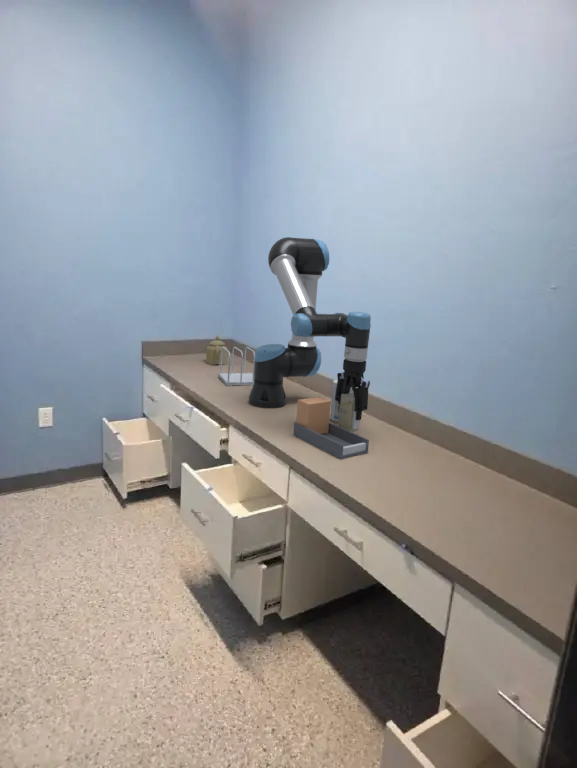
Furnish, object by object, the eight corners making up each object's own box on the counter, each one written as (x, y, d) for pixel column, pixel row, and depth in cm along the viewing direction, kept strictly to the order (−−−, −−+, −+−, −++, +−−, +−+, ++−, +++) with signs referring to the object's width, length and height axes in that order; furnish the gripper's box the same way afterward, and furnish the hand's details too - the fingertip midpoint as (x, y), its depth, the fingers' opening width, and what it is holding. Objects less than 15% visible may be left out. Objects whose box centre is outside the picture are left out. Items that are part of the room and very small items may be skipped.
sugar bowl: (234, 365, 277) (235, 337, 274) (215, 367, 271) (216, 338, 267) (221, 360, 289) (221, 333, 285) (202, 361, 283) (203, 334, 279)
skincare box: (337, 427, 181) (340, 393, 178) (347, 425, 184) (350, 392, 181) (349, 433, 176) (352, 398, 173) (359, 431, 179) (362, 397, 176)
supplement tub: (361, 422, 194) (364, 383, 190) (341, 425, 189) (344, 386, 185) (344, 415, 202) (347, 377, 198) (324, 418, 197) (327, 379, 193)
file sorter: (226, 386, 234) (227, 352, 231) (218, 377, 250) (218, 345, 246) (279, 385, 243) (281, 351, 239) (268, 376, 259) (269, 345, 255)
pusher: (295, 431, 176) (297, 399, 174) (317, 427, 182) (319, 396, 179) (306, 436, 172) (309, 404, 169) (328, 432, 177) (330, 401, 174)
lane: (293, 434, 176) (294, 422, 175) (319, 430, 182) (320, 418, 181) (340, 459, 157) (342, 445, 156) (367, 452, 164) (369, 439, 163)
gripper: (327, 354, 179) (322, 418, 185) (367, 366, 164) (359, 436, 170) (344, 352, 183) (338, 415, 189) (384, 364, 169) (376, 432, 174)
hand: (348, 425), depth 180 cm, fingers closed on skincare box, 6 cm apart
